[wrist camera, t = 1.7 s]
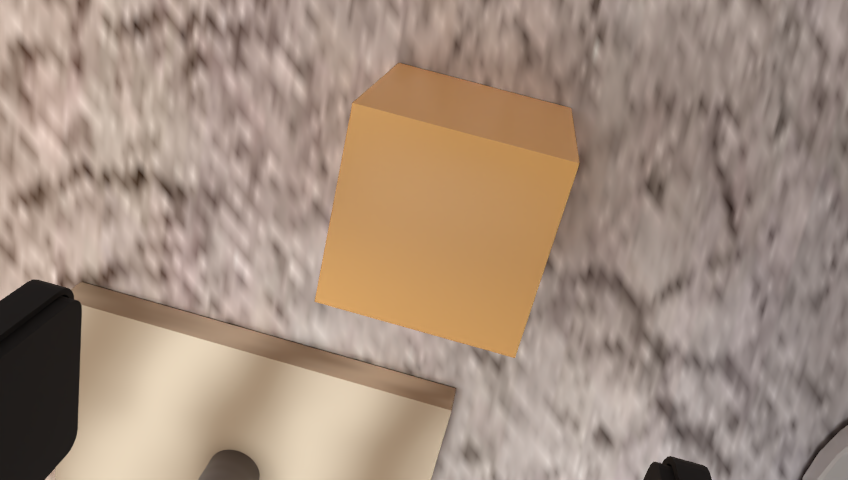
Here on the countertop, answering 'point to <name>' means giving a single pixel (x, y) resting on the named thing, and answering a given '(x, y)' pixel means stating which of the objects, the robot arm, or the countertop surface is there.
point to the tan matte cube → (447, 206)
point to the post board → (238, 403)
